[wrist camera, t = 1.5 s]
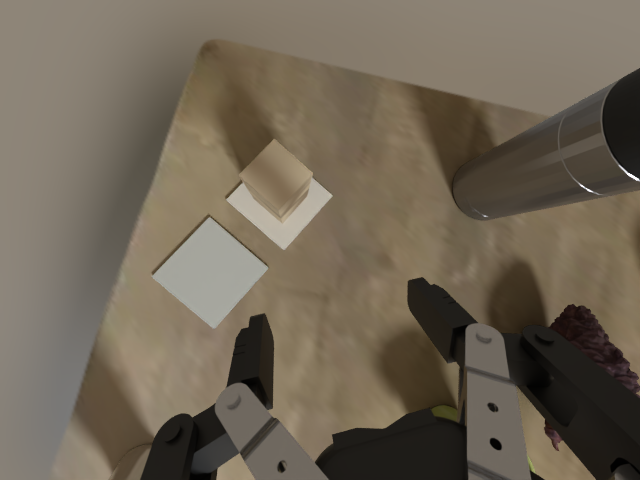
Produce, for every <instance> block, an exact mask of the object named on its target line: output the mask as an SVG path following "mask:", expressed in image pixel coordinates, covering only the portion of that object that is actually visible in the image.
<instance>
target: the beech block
mask: <svg viewBox="0 0 640 480" xmlns="http://www.w3.org/2000/svg"><path fill="white" fill-rule="evenodd" d="M312 175H313V173H312V172H311V171H310V170H309V169H308V168H307V167H306V166H304V165H303V164H302V163H301V162H300V161H299V160H298V159H297V158H295V157H294V156H293V155H292V154H291V153H290V152H289V151H288V150H286V149H285V148H284V147H283V146H282V145H281V144H280V143H279V142H278V141H276V140H275V139H273V140H272V141H271V142H270V143H269V144H268V146H267V147H266V148H265V149H264V150H263V151H262V152H261V153H260V154H259V155H258V156H257V157H256V158H255V159H254V160H253V161H252V162H251V163H250V164H249V165H248V166H247V167H246V168H245V169H244V170H243V171H242V172H241V173H240V174H239V177H240V178H241V180H242V181H243V183H244V185H245V186H246V188H247V189H248V191H249V192H250V194H251V195H252V197H253V199H254V200H256V201H257V202H258V203H259V204H260V205H261V206H262V207H264V208H265V209H266V210H267V211H268V212H269V213H270V214H272V215H273V216H274V217H275V218H276V219H277V220H278V221H280V222H281V223H282V224H283V223H284V221H285V220H286V219H287V218H288V217H289V216H290V215H291V214H292V213H293V212H294V210H295V209H296V208H297V207H298V206H299V205H300V204H301V203H302V202H303V201H304V199H305V198H306V197H307V195H308V191H309V187H310V183H311V179H312Z"/></svg>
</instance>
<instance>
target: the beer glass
mask: <svg viewBox="0 0 640 480" xmlns="http://www.w3.org/2000/svg"><path fill="white" fill-rule="evenodd" d="M151 447H152V445H151V444H146V445H140V446H137V447H135V448H133V449H132V450H130V451H129V452H128V453H126V454H125V455H124V456H123V458H122V459H121V460H120V462H119V463H118V465H117V466H116V468H115V470H114V471H113V473H112V475H111V476H110V478H109V479H108V480H140V478H141V475H142V473H143V470H144V467H145V464H146V461H147V458H148V455H149V452H150V449H151Z"/></svg>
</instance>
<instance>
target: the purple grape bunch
mask: <svg viewBox="0 0 640 480" xmlns="http://www.w3.org/2000/svg"><path fill="white" fill-rule="evenodd" d="M547 328H549V329H552V330H554V331H555V332H557V333H559V334H560V335H561V336H563V337H564V338H565V339H566V340H568V341H569V342H570V343H571V344H573V345H574V346H575V347H576V348H578V349H579V350H580V351H581V352H583V353H584V354H585V355H586V356H588V357H589V358H590V359H591V360H593V361H594V362H595V363H596V364H598V365H599V366H600V367H601V368H603V369H604V370H605V371H606V372H608V373H609V374H610V375H611V376H613V377H614V378H615V379H617V380H618V381H619V382H620V383H622V384H623V385H624V386H625V387H627V388H628V389H629V390H630V391H632V392H633V393H634V394H635V395H637V394H636V392H639V390H640V386H639V384H638V383H637V381H636V380H638V379H639V377H638V376H637V374H636V373H634V372H632V371H630V369H629V367H630V363H629V362H628V361H627V360H626V359H625V358H623V353H622V352H621V351H620V350H619V349H618V348H616V347H615V346H614V344H612V343H610V342H609V340H608V339H609V337H608V335H607V334H605V331H604V330H603V329H602V326H601V325H600V324H598V320H597V319H595V315H593V314H591V310H590V309H586V307H585V306H578V307H576V306H575V305H574V304H572V305H568V306H567V307H566V308H565V309H564V312H562V313H561V314H560V317H557V318H556V319H555V322H554V323H552V324H551V327H547ZM637 396H638V397H639V398H640V396H639V395H637ZM545 425H546V426H545V427H544V429H545V433H546V435H547V436H548V437H549V438H550V439H551V441H552V445H553V447H554V448H555V449H556V450H557V451H559V449H558V444H557V442H558V443H560V441H562V438H561V437H560V436H559V435H558V434H557V432H556V431H555V430H554V429H553V428H552V427H551V425H550V424H549V423H548V422H547V421H546V420H545Z"/></svg>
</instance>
